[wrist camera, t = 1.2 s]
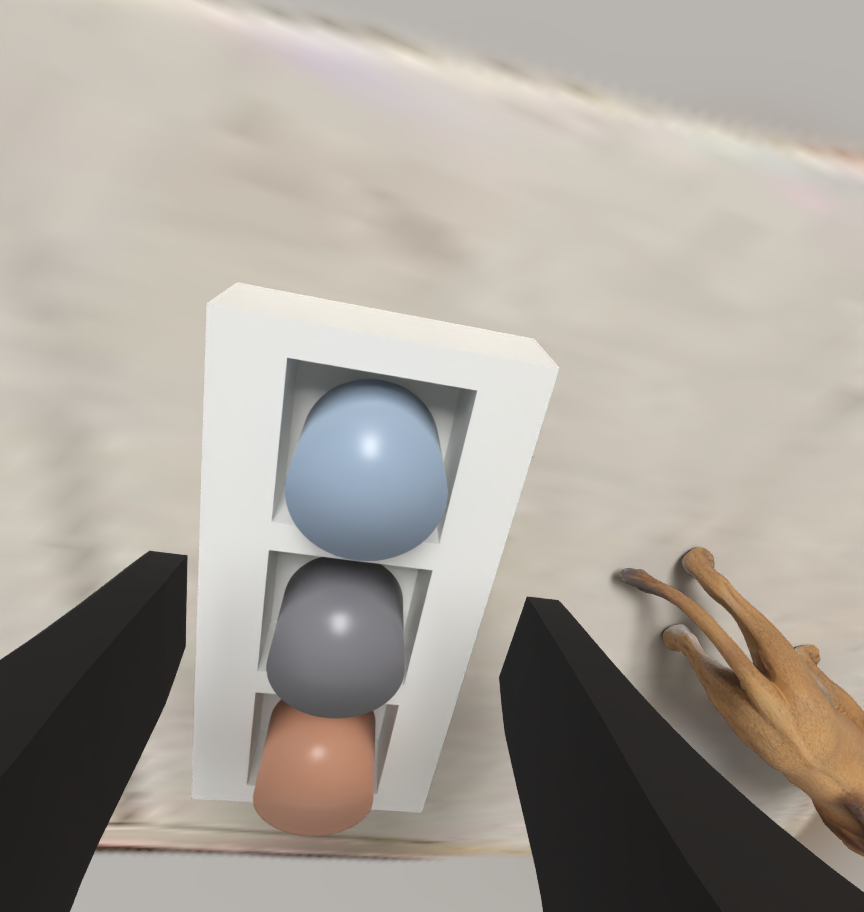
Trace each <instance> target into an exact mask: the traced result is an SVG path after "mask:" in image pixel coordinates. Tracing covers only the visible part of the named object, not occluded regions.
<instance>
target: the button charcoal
mask: <svg viewBox="0 0 864 912" xmlns="http://www.w3.org/2000/svg"><path fill="white" fill-rule="evenodd" d="M266 672H267V678H268V680H269V683H270V685H271V687H272V689H273V690H274V692H275V693H276V694H277V695H278V696H279V697H280V698H281V699H282V700H283V701H284V702H285V703H287V704H288V705H289V706H291V707H293V708H294V709H296V710H299V711H301V712H303V713H306V714H309V715H312V716H317V717H323V718H336V719H337V718H349V717H355V716H359V715H363V714H366V713H369V712H371V711H373V710H375V709H377V708H379V707H381V706H382V705H384V704H385V703H386V702H388V701H389V700H390V699H391V698H392V697H393V696H394V695H395V694H396V692H397V691H398V690H399V688H400V686H401V684H402V681H403V678H404V673H405V660H404V622H403V595H402V590H401V587H400V585H399V583H398V581H397V579H396V578H395V577H394V575H393V574H392V573H391V572H390V571H389V570H388V569H387V568H385V567H384V566H383V565H381V564H377V563H369V562H361V561H353V560H345V559H337V558H329V557H319V558H316V559H314V560H312V561H310V562H308V563H306V564H305V565H303V566H302V567H300V568H299V569H298V570H297V571H296V572H295V573H294V574H293V576H292V577H291V578H290V580H289V582H288V583H287V586H286V589H285V592H284V596H283V600H282V604H281V608H280V612H279V616H278V620H277V624H276V627H275V631H274V635H273V639H272V643H271V647H270V651H269V655H268V659H267V664H266Z"/></svg>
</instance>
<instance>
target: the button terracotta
mask: <svg viewBox="0 0 864 912" xmlns="http://www.w3.org/2000/svg"><path fill="white" fill-rule="evenodd" d="M375 727H376V721H375V715H374V712H373V711H371V712H369V713H366V714H363V715H359V716H355V717H349V718H337V719H336V718H323V717H317V716H312V715H309V714H306V713H303V712H301V711H299V710H296V709H294V708H293V707H291V706H289V705H288V704H287V703H285V702H284V701H283V700H282V699H281V700H280V701H279V702H278V703H277V704H276V706H275V707H274V709H273V711H272V713H271V717H270V722H269V726H268V731H267V735H266V740H265V744H264V749H263V753H262V758H261V762H260V767H259V771H258V775H257V780H256V784H255V789H254V794H253V804H254V807H255V810H256V812H257V813H258V815H259V816H260V817H261V818H262V819H263V820H264V821H265V822H267V823H268V824H270V825H271V826H273V827H275V828H277V829H279V830H282V831H284V832H288V833H291V834H296V835H304V836H322V835H329V834H334V833H338V832H341V831H344V830H346V829H349V828H351V827H353V826H354V825H356V824H358V823H359V822H360V821H362V820H363V819H364V818H365V817H366V815H367V814H368V813H369V811H370V809H371V807H372V804H373V795H374V761H375Z"/></svg>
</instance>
